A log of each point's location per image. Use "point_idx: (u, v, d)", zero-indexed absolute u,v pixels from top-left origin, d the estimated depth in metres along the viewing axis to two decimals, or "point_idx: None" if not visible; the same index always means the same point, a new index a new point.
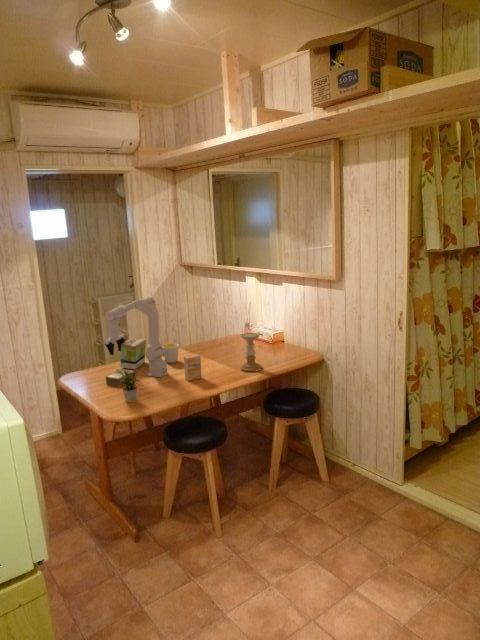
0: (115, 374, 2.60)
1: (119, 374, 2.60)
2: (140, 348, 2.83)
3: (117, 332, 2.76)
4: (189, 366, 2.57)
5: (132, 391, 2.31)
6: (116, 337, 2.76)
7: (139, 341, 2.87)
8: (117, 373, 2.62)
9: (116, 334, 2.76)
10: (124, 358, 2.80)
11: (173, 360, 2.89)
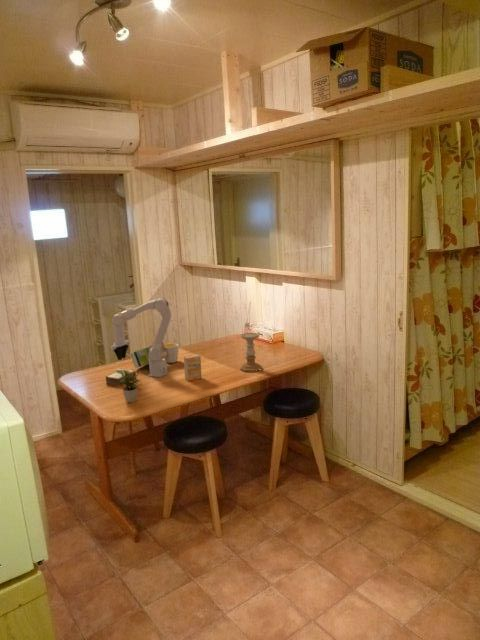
0: (115, 374, 2.60)
1: (119, 374, 2.60)
2: None
3: (123, 337, 2.63)
4: (189, 366, 2.57)
5: (132, 391, 2.31)
6: (122, 342, 2.63)
7: (162, 354, 2.82)
8: (117, 373, 2.62)
9: (122, 339, 2.63)
10: (138, 355, 2.78)
11: (173, 360, 2.89)
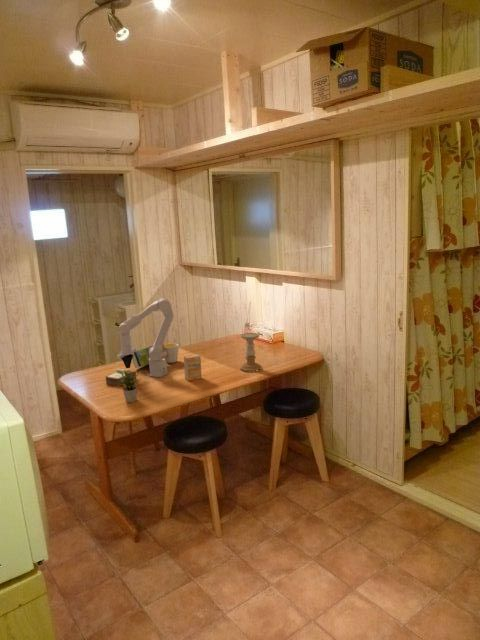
0: (115, 374, 2.60)
1: (119, 374, 2.60)
2: None
3: (129, 346, 2.62)
4: (189, 366, 2.57)
5: (132, 391, 2.31)
6: (128, 351, 2.62)
7: (162, 354, 2.82)
8: (117, 373, 2.62)
9: (128, 348, 2.62)
10: (138, 355, 2.78)
11: (173, 360, 2.89)
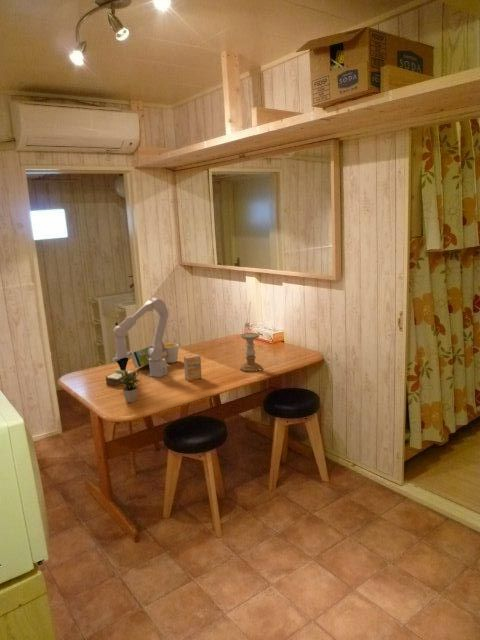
0: (114, 374, 2.60)
1: (118, 374, 2.60)
2: None
3: (124, 349, 2.59)
4: (189, 366, 2.57)
5: (132, 391, 2.31)
6: (123, 355, 2.59)
7: (162, 354, 2.82)
8: (116, 373, 2.61)
9: (123, 351, 2.59)
10: (138, 355, 2.78)
11: (173, 360, 2.89)
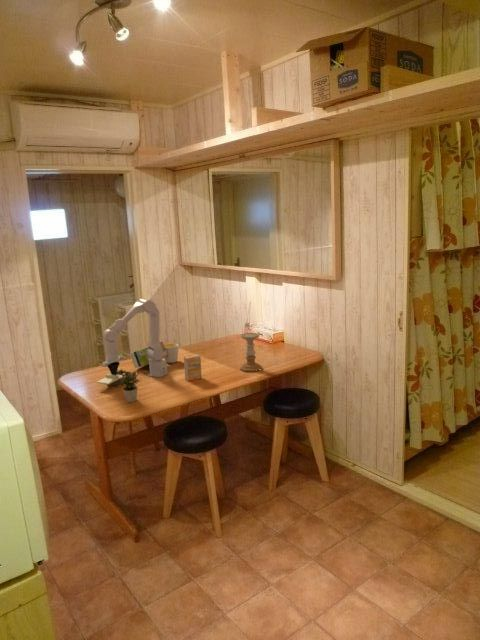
0: (105, 379, 2.53)
1: (109, 379, 2.53)
2: None
3: (115, 353, 2.52)
4: (189, 366, 2.57)
5: (132, 391, 2.31)
6: (114, 359, 2.52)
7: None
8: (107, 378, 2.55)
9: (114, 355, 2.52)
10: (138, 355, 2.78)
11: (173, 360, 2.89)
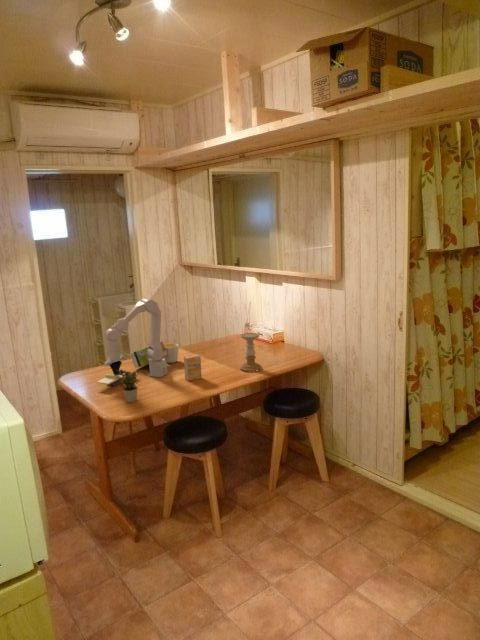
0: (104, 379, 2.53)
1: (108, 379, 2.53)
2: None
3: (117, 353, 2.54)
4: (189, 366, 2.57)
5: (132, 391, 2.31)
6: (116, 358, 2.54)
7: None
8: (107, 378, 2.54)
9: (116, 355, 2.53)
10: (138, 355, 2.78)
11: (173, 360, 2.89)
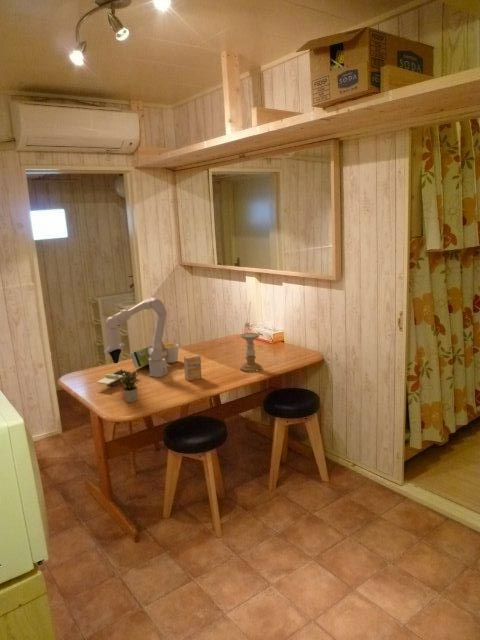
0: (104, 379, 2.53)
1: (108, 379, 2.53)
2: None
3: (117, 341, 2.57)
4: (189, 366, 2.57)
5: (132, 391, 2.31)
6: (116, 346, 2.56)
7: (162, 354, 2.82)
8: (107, 378, 2.54)
9: (116, 343, 2.56)
10: (138, 355, 2.78)
11: (173, 360, 2.89)
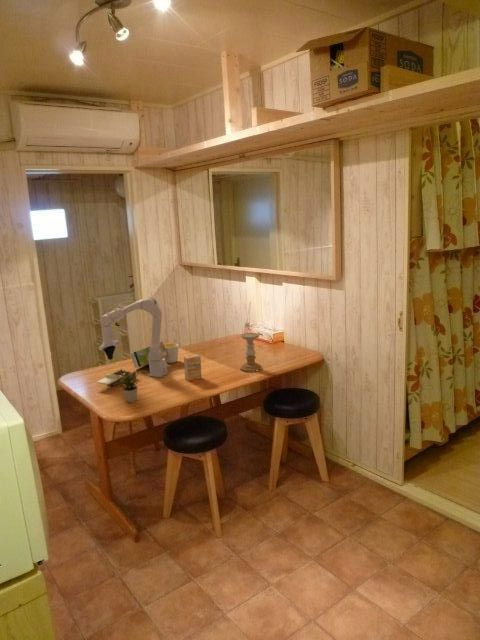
0: (104, 379, 2.53)
1: (108, 379, 2.53)
2: None
3: (111, 337, 2.63)
4: (189, 366, 2.57)
5: (132, 391, 2.31)
6: (110, 343, 2.63)
7: (162, 354, 2.82)
8: (107, 378, 2.54)
9: (110, 340, 2.63)
10: (138, 355, 2.78)
11: (173, 360, 2.89)
